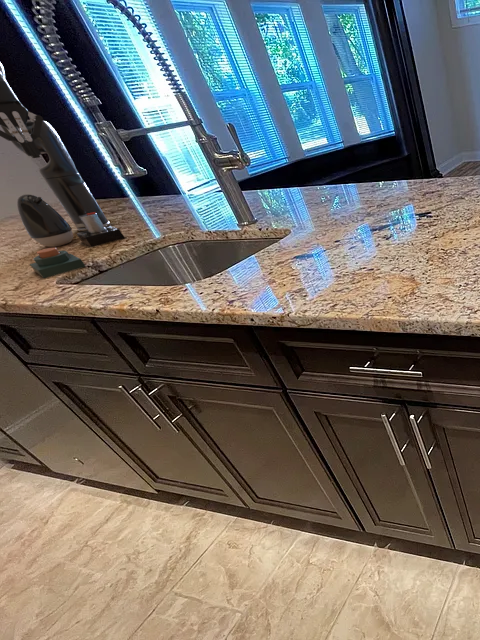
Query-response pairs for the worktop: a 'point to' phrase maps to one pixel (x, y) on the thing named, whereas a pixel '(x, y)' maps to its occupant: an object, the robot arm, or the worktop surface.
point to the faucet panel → (100, 236)
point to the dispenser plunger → (48, 252)
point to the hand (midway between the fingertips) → (36, 157)
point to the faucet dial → (92, 222)
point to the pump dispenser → (43, 222)
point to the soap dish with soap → (56, 264)
